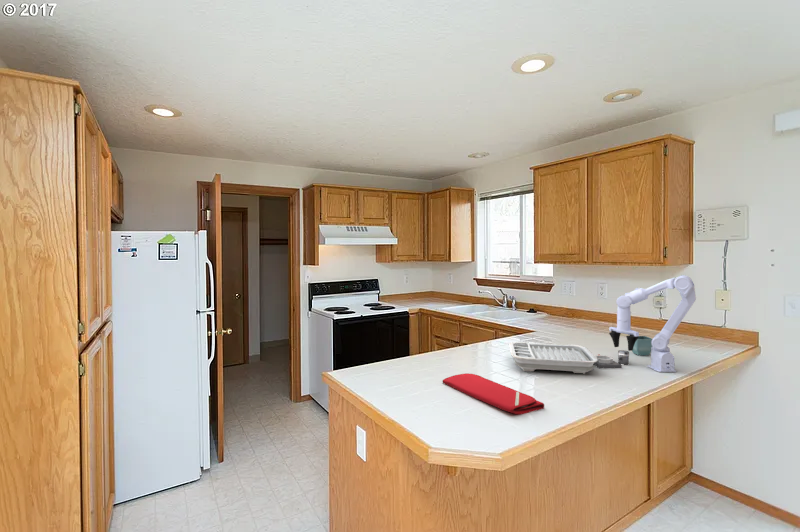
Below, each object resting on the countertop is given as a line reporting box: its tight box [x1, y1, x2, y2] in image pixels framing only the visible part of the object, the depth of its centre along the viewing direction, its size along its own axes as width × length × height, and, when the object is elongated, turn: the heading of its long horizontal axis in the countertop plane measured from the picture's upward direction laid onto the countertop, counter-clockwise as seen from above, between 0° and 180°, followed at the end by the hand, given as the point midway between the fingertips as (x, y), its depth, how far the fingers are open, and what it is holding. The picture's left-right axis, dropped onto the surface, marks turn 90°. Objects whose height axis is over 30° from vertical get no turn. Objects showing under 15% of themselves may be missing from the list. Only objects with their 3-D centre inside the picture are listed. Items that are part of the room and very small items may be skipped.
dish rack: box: [508, 341, 598, 375], centre depth 196 cm, size 32×37×8 cm
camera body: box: [593, 353, 623, 369], centre depth 198 cm, size 14×10×4 cm
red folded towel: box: [441, 373, 545, 415], centre depth 158 cm, size 16×41×4 cm, turn 28°
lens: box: [617, 349, 630, 366], centre depth 198 cm, size 5×5×6 cm
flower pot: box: [631, 335, 653, 356], centre depth 215 cm, size 9×9×9 cm
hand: (623, 348), depth 198 cm, fingers open, 7 cm apart
